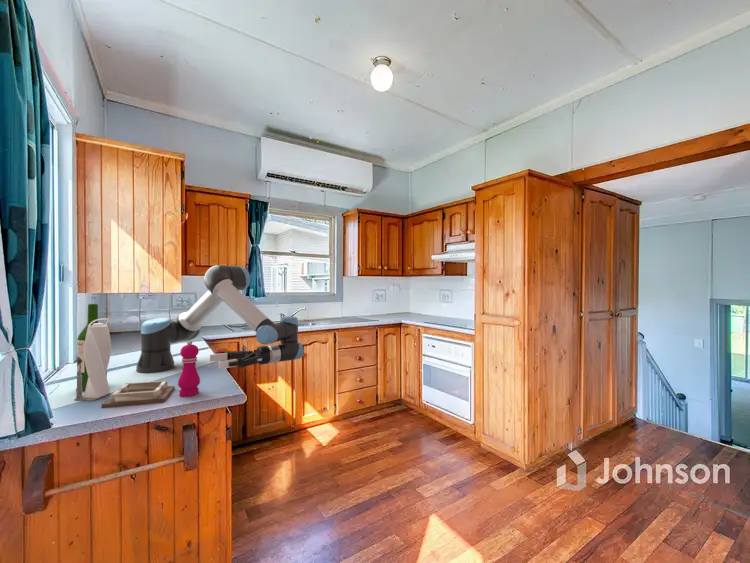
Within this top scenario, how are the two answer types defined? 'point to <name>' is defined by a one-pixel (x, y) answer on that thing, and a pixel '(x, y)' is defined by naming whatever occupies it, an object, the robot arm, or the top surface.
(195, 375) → the pepper mill
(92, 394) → the skyscraper
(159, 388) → the stand
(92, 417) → the top surface
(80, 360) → the wine bottle
